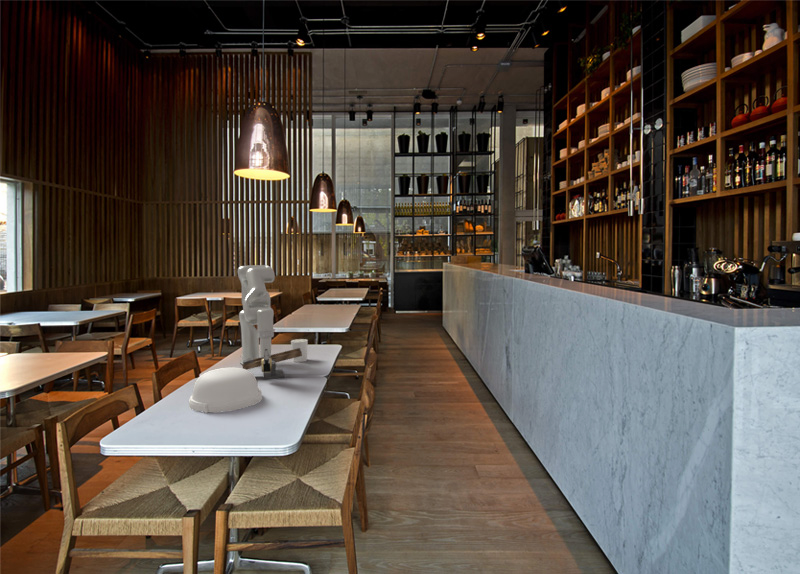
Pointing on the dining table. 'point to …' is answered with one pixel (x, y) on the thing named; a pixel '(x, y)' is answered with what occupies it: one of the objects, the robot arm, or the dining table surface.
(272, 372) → the beam stand
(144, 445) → the dining table surface
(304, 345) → the candle holder
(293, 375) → the dining table surface
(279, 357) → the balance beam
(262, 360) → the brass weight
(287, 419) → the dining table surface
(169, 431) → the dining table surface
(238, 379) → the dome cover
